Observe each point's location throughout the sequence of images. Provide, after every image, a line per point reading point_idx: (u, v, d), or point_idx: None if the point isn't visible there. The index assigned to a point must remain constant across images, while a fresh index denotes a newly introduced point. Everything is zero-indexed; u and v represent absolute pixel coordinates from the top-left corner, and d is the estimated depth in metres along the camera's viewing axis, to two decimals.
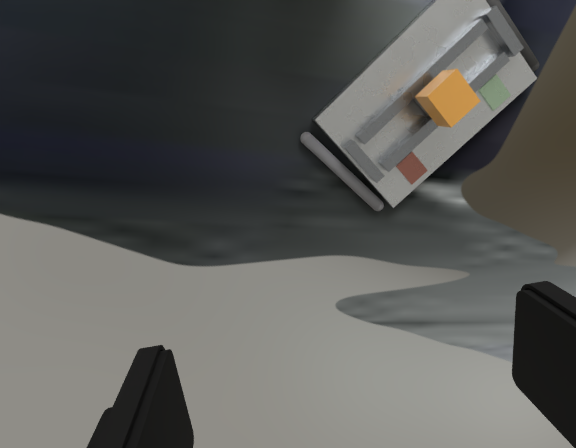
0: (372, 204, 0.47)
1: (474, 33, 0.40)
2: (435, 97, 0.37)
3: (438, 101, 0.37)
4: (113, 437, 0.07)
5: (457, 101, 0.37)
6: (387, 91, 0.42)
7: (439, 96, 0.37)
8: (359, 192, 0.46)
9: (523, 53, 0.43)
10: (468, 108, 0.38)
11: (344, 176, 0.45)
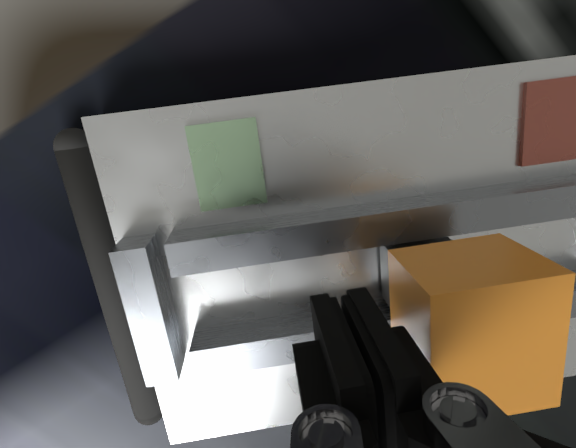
0: None
1: (228, 360, 0.14)
2: (543, 390, 0.10)
3: (544, 374, 0.10)
4: (341, 352, 0.08)
5: (497, 339, 0.10)
6: None
7: (531, 387, 0.10)
8: None
9: (93, 201, 0.14)
10: (482, 298, 0.09)
11: None
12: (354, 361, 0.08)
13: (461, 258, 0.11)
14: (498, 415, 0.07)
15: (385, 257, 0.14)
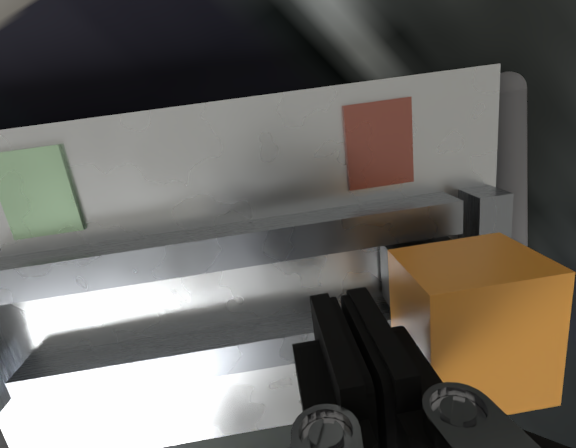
0: (524, 110, 0.15)
1: (48, 390, 0.14)
2: (544, 390, 0.10)
3: (545, 374, 0.10)
4: (341, 353, 0.08)
5: (497, 339, 0.10)
6: None
7: (532, 386, 0.10)
8: (525, 168, 0.16)
9: None
10: (482, 297, 0.09)
11: (523, 232, 0.16)
12: (354, 361, 0.08)
13: (461, 257, 0.11)
14: (498, 415, 0.07)
15: (385, 257, 0.14)
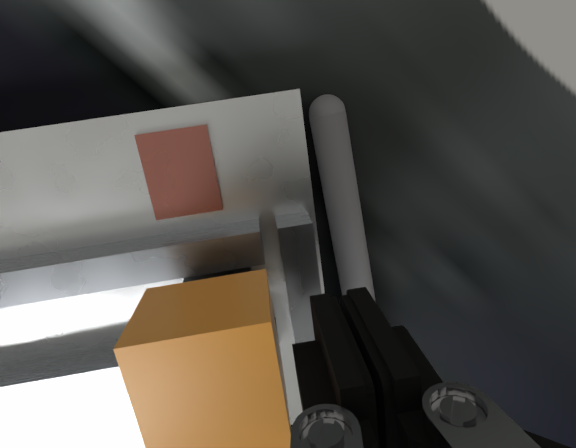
0: (343, 134, 0.15)
1: None
2: (270, 439, 0.10)
3: (267, 423, 0.10)
4: (341, 352, 0.08)
5: (203, 390, 0.09)
6: None
7: (256, 435, 0.10)
8: (353, 192, 0.15)
9: None
10: (173, 349, 0.09)
11: (360, 256, 0.16)
12: (354, 361, 0.08)
13: (195, 300, 0.10)
14: (498, 415, 0.07)
15: None
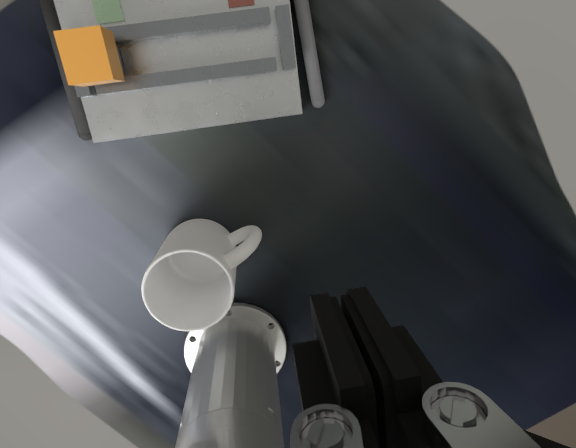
0: None
1: (110, 85, 0.36)
2: (104, 71, 0.31)
3: (103, 65, 0.31)
4: (341, 352, 0.08)
5: (81, 49, 0.31)
6: (220, 90, 0.38)
7: (99, 69, 0.31)
8: (306, 4, 0.37)
9: (55, 22, 0.36)
10: (70, 32, 0.30)
11: (310, 35, 0.38)
12: (354, 361, 0.08)
13: None
14: (498, 415, 0.07)
15: None
